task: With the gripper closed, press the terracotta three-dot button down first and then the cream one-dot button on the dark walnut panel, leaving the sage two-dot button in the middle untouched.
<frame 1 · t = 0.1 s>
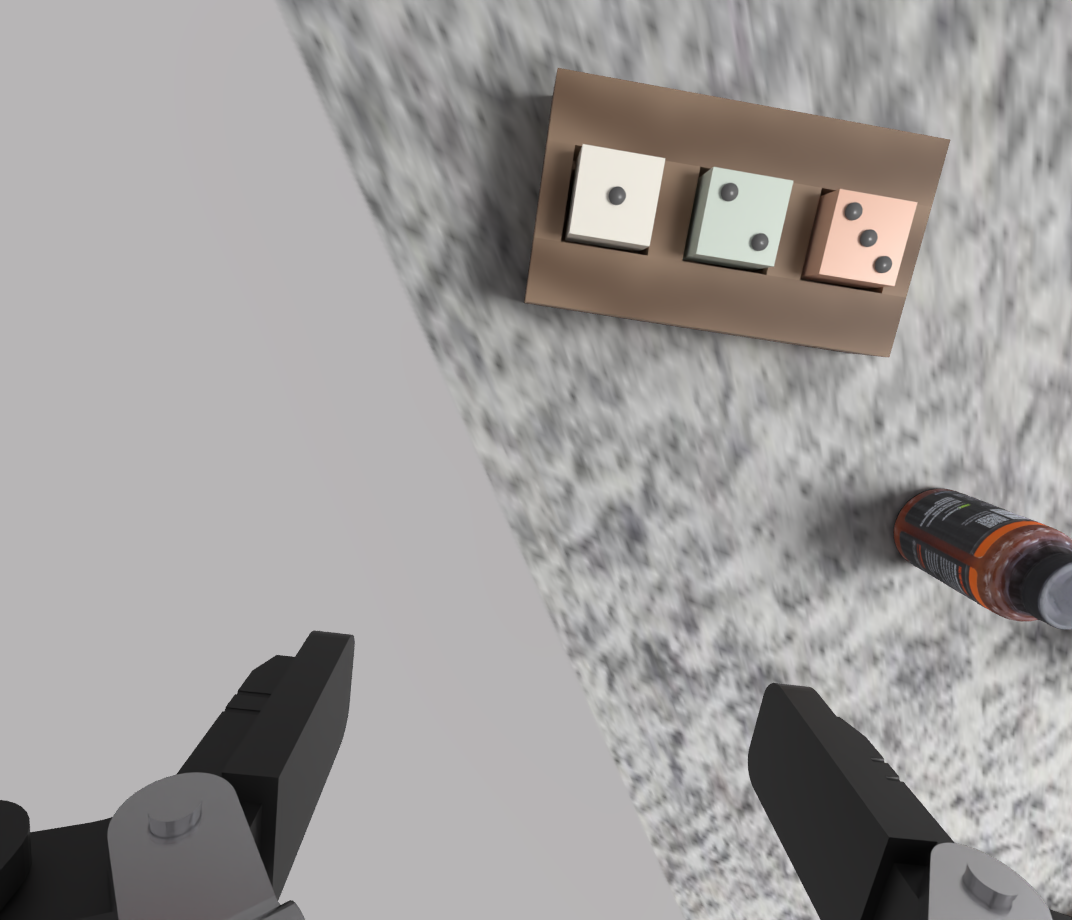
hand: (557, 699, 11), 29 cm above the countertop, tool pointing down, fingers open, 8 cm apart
button 2: (734, 221, 33), point 4 cm above the countertop, slide at 0.0 cm
button panel: (711, 231, 37), on the countertop
supplement bottle: (928, 524, 43), on the countertop
button 3: (853, 241, 34), point 4 cm above the countertop, slide at 0.0 cm
button 1: (612, 201, 33), point 4 cm above the countertop, slide at 0.0 cm
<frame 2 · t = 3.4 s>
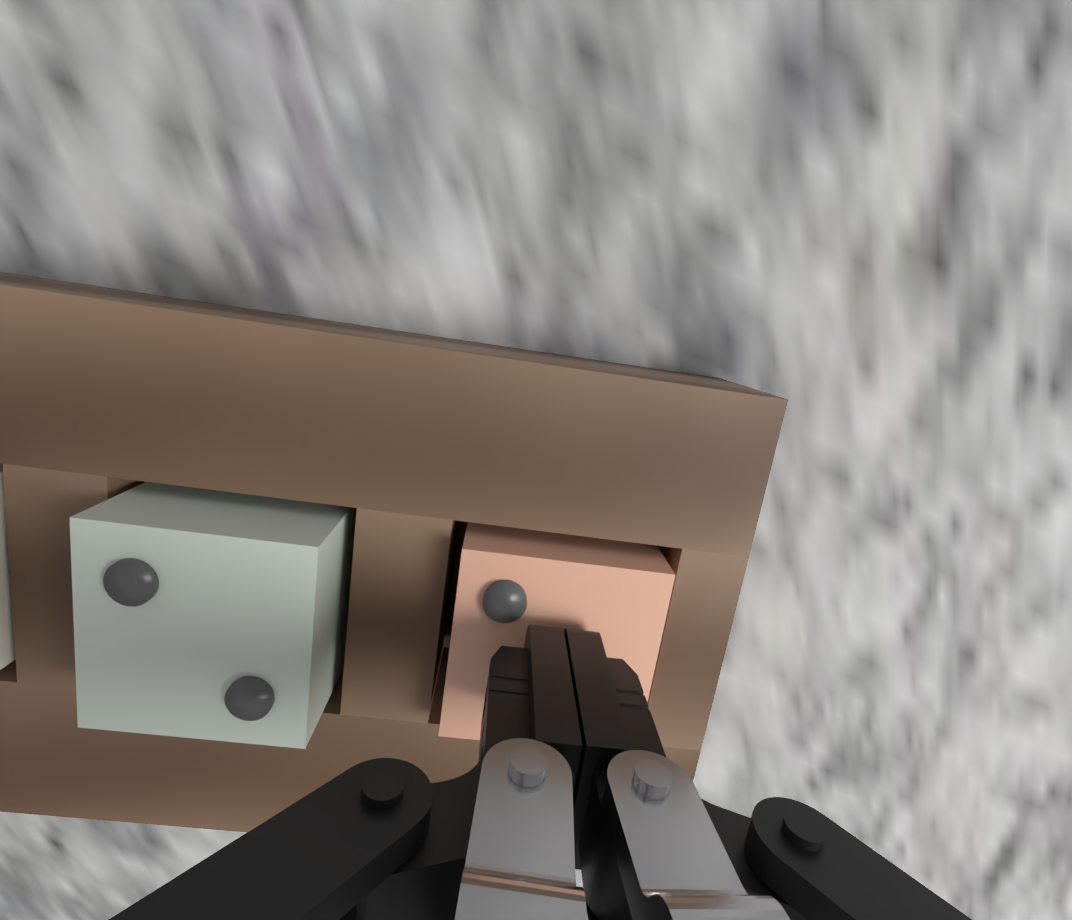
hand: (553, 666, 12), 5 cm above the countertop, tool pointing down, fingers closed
button 2: (228, 604, 13), point 4 cm above the countertop, slide at 0.0 cm
button panel: (296, 535, 17), on the countertop
button 3: (549, 623, 14), point 3 cm above the countertop, slide at 0.8 cm, touching gripper
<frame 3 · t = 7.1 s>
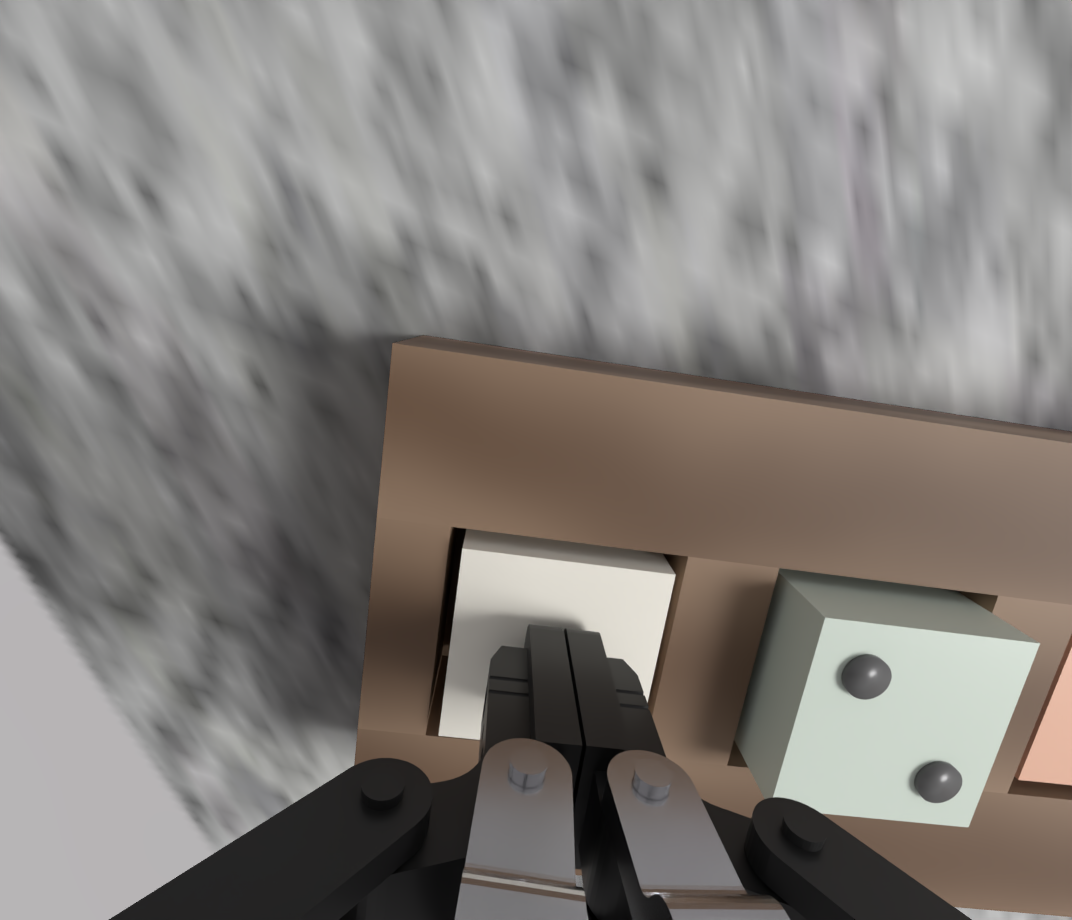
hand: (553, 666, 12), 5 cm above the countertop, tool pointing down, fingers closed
button 2: (860, 685, 13), point 4 cm above the countertop, slide at 0.0 cm
button panel: (780, 599, 17), on the countertop
button 1: (549, 623, 14), point 3 cm above the countertop, slide at 1.2 cm, touching gripper
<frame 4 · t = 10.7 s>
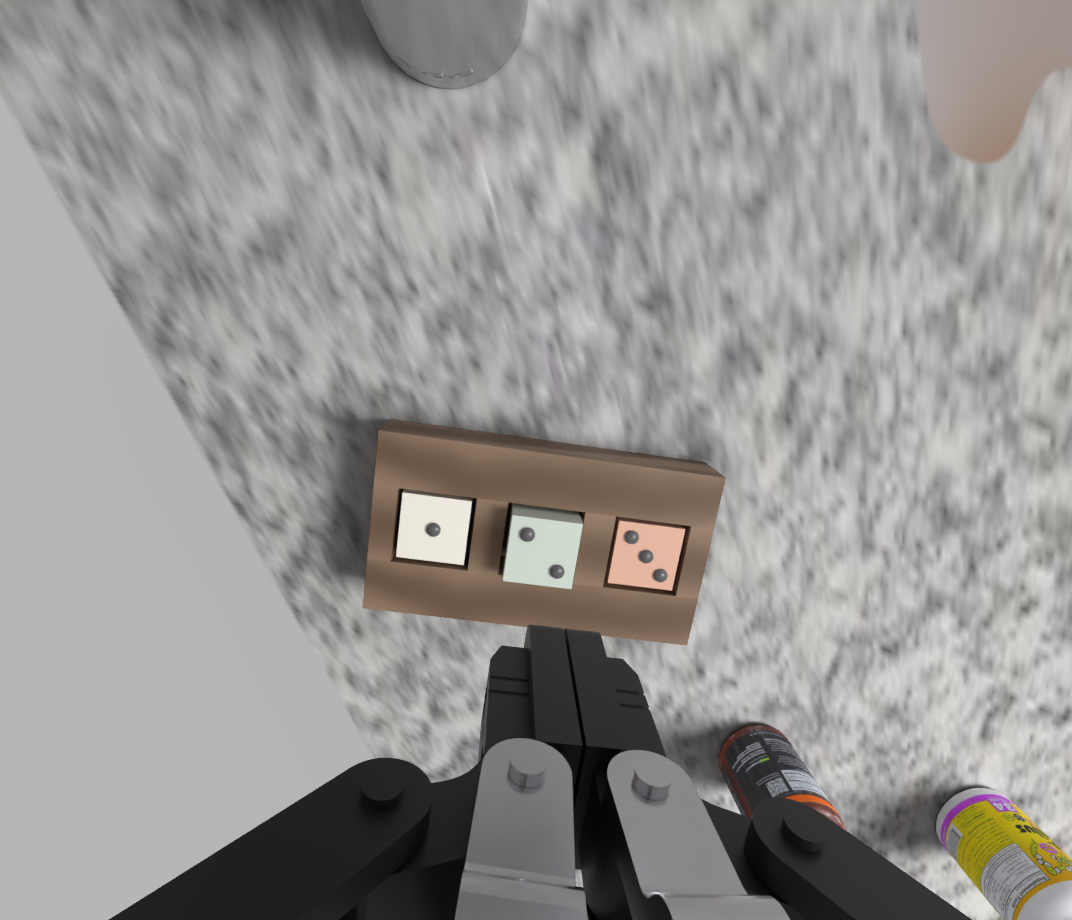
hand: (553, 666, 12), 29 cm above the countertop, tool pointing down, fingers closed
button 2: (541, 544, 38), point 4 cm above the countertop, slide at 0.0 cm
button panel: (538, 522, 42), on the countertop
supplement bottle 2: (968, 814, 50), on the countertop
supplement bottle: (752, 750, 48), on the countertop
button 3: (641, 548, 40), point 2 cm above the countertop, slide at 1.6 cm
button 1: (436, 521, 39), point 2 cm above the countertop, slide at 1.7 cm
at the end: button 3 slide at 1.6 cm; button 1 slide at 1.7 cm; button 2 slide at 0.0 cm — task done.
